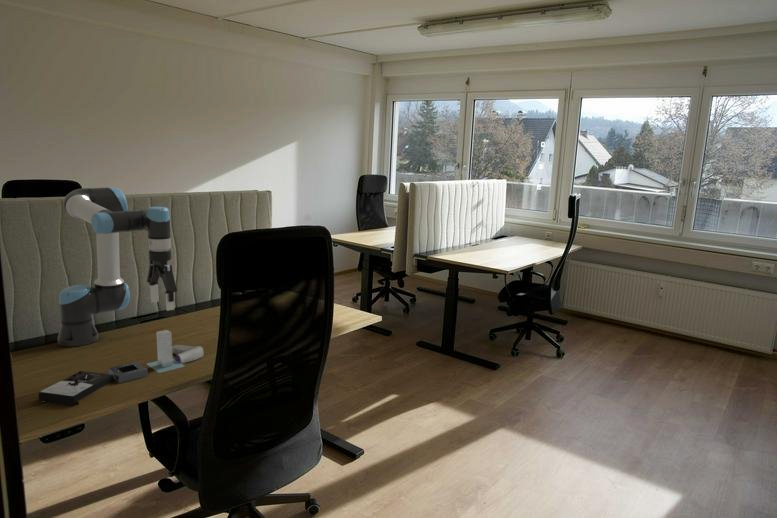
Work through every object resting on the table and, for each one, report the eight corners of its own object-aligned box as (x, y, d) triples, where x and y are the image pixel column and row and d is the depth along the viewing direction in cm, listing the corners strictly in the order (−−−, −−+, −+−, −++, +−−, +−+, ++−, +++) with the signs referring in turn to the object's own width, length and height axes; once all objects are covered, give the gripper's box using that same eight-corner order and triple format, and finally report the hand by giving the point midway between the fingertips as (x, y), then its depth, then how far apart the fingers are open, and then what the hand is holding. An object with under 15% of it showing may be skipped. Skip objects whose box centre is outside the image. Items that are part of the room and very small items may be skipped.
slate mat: (145, 366, 213) (145, 363, 213) (171, 359, 220) (171, 357, 220) (159, 375, 205) (159, 373, 205) (185, 368, 212) (185, 366, 212)
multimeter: (114, 384, 198) (113, 370, 197) (73, 407, 179) (72, 393, 179) (81, 380, 200) (80, 366, 200) (38, 402, 182) (37, 388, 181)
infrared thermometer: (179, 352, 232) (205, 357, 225) (155, 361, 222) (182, 366, 215) (178, 341, 231) (204, 346, 225) (153, 350, 221) (181, 355, 214)
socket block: (109, 377, 202) (108, 368, 202) (137, 370, 209) (136, 361, 209) (119, 385, 195) (118, 376, 195) (148, 378, 202) (147, 369, 202)
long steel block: (157, 364, 213) (156, 331, 210) (168, 362, 215) (166, 329, 213) (162, 367, 210) (160, 334, 207) (172, 365, 213) (171, 332, 210)
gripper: (135, 245, 210) (138, 300, 214) (164, 256, 193) (167, 315, 197) (155, 243, 215) (158, 297, 220) (185, 253, 198) (187, 311, 202)
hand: (162, 305), depth 208 cm, fingers open, 13 cm apart
